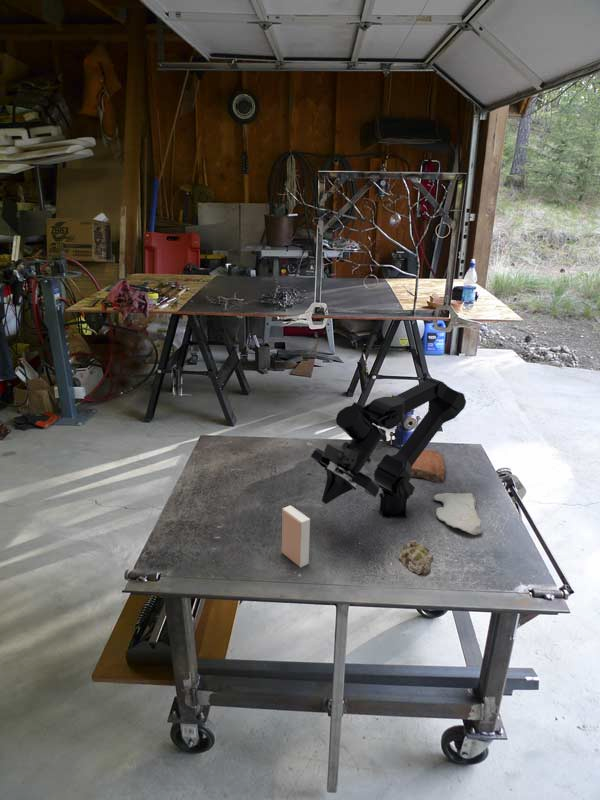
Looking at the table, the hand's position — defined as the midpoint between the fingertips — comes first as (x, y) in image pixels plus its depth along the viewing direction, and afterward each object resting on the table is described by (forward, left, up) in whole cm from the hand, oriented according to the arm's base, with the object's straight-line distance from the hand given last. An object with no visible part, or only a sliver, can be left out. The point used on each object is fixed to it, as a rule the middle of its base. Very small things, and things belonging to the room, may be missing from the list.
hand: (323, 502), depth 139 cm
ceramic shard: (-33, -37, -12) cm, 51 cm away
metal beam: (+25, -9, -12) cm, 30 cm away
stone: (-37, -11, -12) cm, 41 cm away
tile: (+7, +5, -12) cm, 14 cm away
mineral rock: (-21, +7, -12) cm, 25 cm away
